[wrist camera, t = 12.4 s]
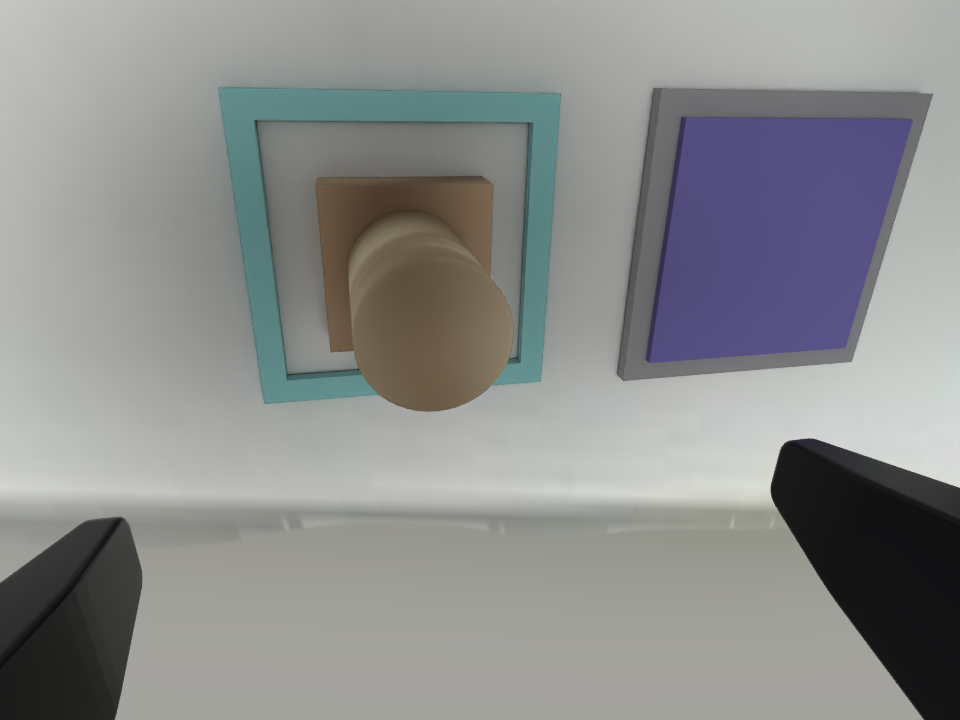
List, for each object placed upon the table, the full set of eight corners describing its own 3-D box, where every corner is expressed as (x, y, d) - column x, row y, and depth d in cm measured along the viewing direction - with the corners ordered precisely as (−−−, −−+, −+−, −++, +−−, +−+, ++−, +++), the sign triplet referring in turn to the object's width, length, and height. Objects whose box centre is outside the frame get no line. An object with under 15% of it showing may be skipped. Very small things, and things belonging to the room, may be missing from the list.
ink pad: (920, 93, 21) (940, 94, 20) (842, 356, 25) (857, 364, 25) (654, 88, 19) (666, 88, 18) (617, 374, 23) (626, 384, 23)
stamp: (481, 175, 19) (550, 225, 13) (477, 324, 21) (536, 427, 15) (317, 177, 18) (308, 231, 12) (330, 332, 20) (329, 447, 14)
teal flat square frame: (556, 93, 19) (560, 93, 18) (537, 376, 23) (540, 381, 22) (220, 87, 17) (218, 87, 16) (265, 398, 21) (264, 403, 20)
